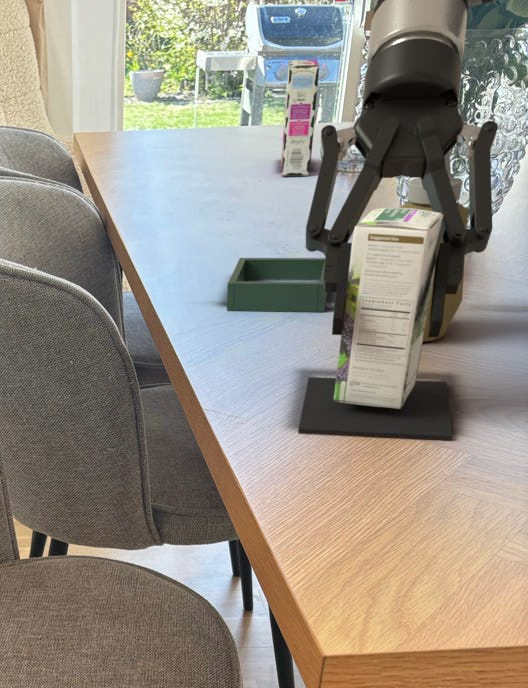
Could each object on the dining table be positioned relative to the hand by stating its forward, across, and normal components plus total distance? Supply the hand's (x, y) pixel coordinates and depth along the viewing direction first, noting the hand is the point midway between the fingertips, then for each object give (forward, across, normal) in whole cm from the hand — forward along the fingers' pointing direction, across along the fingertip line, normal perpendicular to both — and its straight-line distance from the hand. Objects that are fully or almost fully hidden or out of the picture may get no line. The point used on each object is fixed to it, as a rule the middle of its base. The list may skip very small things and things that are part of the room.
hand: (385, 327), depth 78 cm
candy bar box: (-71, +15, -84) cm, 111 cm away
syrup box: (+3, 0, -8) cm, 8 cm away
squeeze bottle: (-11, -4, -22) cm, 25 cm away
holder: (-19, +11, -31) cm, 38 cm away
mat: (+3, 0, -8) cm, 9 cm away
